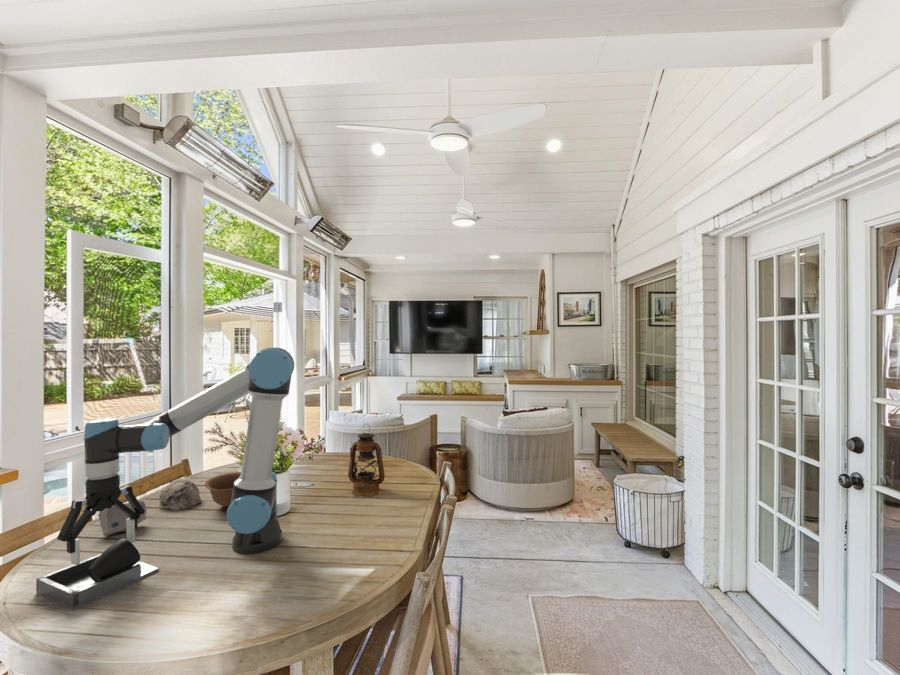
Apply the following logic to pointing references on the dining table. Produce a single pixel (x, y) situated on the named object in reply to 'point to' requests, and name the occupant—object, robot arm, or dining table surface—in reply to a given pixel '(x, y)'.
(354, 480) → the lantern
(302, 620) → the dining table surface
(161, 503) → the rock
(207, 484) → the bowl
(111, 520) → the mauve grey rounded block
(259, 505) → the robot arm
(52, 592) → the grey rectangular tray
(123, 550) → the black rounded cylinder
